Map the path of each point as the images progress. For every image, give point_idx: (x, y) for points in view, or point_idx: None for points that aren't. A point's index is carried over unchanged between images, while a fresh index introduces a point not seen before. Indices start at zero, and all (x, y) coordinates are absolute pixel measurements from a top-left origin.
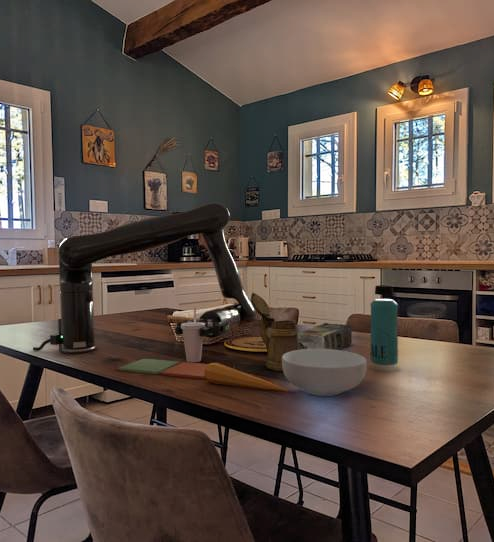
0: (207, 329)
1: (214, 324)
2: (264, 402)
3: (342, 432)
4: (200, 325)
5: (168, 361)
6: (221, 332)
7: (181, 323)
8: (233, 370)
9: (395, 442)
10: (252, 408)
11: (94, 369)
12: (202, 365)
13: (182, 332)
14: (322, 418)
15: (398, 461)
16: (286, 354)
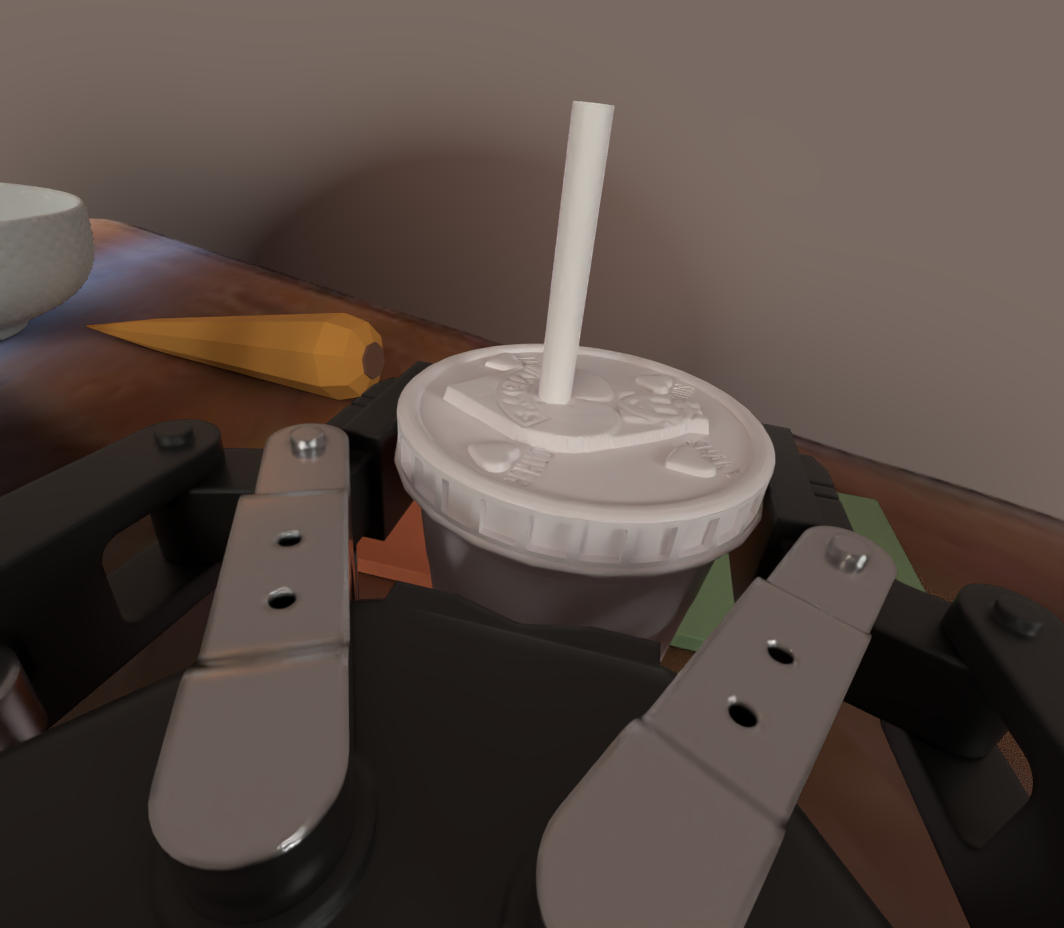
0: (361, 401)
1: (155, 683)
2: (213, 305)
3: (121, 247)
4: (451, 357)
5: (703, 619)
6: (121, 568)
7: (970, 633)
8: (260, 317)
9: None
10: (259, 293)
11: (1007, 524)
12: (414, 536)
13: (735, 555)
14: (117, 266)
15: (106, 221)
16: (5, 223)
